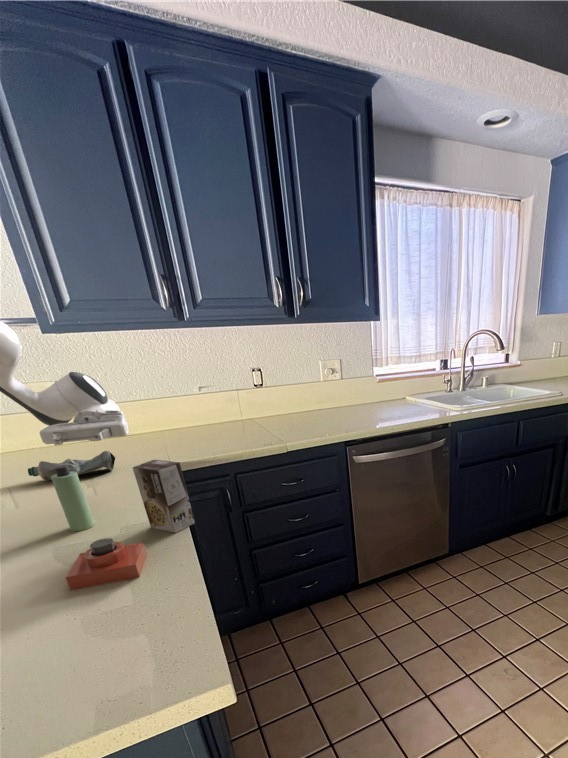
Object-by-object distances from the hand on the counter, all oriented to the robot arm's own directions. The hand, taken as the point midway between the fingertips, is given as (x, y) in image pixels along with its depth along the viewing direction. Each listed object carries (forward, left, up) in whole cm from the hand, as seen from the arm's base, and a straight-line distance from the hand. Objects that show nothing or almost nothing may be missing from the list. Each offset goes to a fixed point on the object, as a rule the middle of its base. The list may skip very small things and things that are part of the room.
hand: (77, 440), depth 110 cm
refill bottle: (-2, -10, -20) cm, 23 cm away
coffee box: (+20, -19, -20) cm, 34 cm away
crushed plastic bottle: (-16, +40, -20) cm, 48 cm away
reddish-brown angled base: (+10, -38, -20) cm, 44 cm away
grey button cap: (+10, -38, -15) cm, 42 cm away
